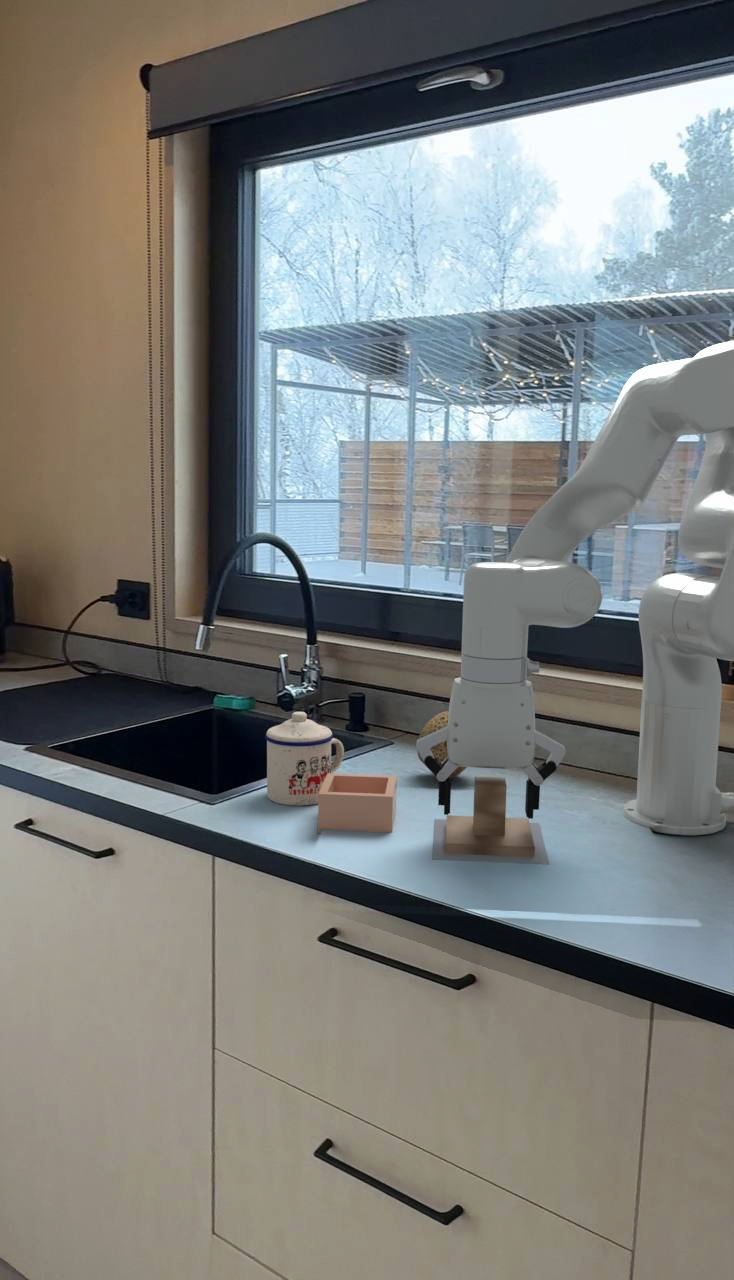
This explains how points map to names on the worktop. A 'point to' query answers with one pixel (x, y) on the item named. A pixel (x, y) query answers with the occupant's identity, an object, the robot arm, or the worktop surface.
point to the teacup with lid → (299, 760)
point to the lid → (489, 825)
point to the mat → (441, 854)
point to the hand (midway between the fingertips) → (487, 813)
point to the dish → (357, 802)
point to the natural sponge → (441, 748)
